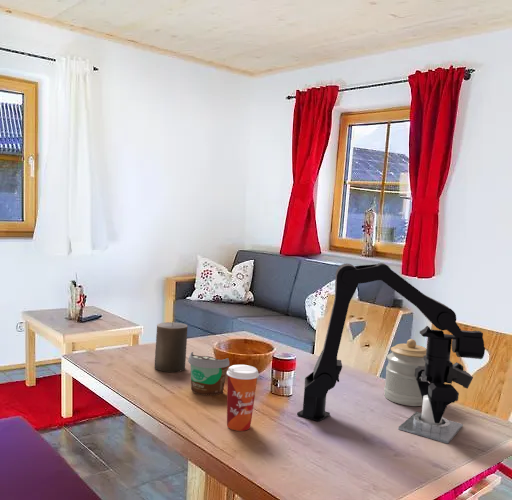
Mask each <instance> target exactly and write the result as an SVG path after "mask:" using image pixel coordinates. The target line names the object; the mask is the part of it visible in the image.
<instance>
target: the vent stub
mask: <svg viewBox="0 0 512 500" xmlns="http://www.w3.org/2000/svg"><path fill="white" fill-rule="evenodd" d="M447 408H448V406H447V407H446V409H447ZM421 413H422V416H421V421H423V422H425V423H428V424H432V425H442V418H443V417H444V415H443V416H442V418H441V421H440V423H435V422H434V418H433V415H432V411H431V407H430V403H429V399H428V395H425V396H423V405H422V406H421Z"/></svg>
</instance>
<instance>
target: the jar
mask: <svg viewBox="0 0 512 500" xmlns="http://www.w3.org/2000/svg"><path fill="white" fill-rule="evenodd" d="M426 349H427V347H424V346H421V345H418V344H417V341H416V340H415V339H414V338H409V339H408V340H407V341H406V343H397V344H395V345H394V346H392V347H390V351H391V352H390V353H388V354H387V356H386V358H387V361H388V362H387V363H388V364H387V365H386V367H385V369H386V371H385V372H386V373H385V384H384V388H383V394H384V397H385V398H386V399H387V400H389V401H390V402H393V403H395V404H398V405H403V406H410V407H422V405H423V400H422V396H421V393H420V390H419V387H418V384H417V381H416V377H415V369H416V368H417V367H418V366H425V361H424V359H423V358H424V355H425V356H426Z"/></svg>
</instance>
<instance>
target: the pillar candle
mask: <svg viewBox="0 0 512 500" xmlns="http://www.w3.org/2000/svg"><path fill="white" fill-rule="evenodd" d="M188 327H189V326H188V324H186V323H180V322H174V321H173V320H171V321H170V322H160V323H157V324H156V336H155V349H154V350H155V352H154V355H155V356H154V368H155V370H157V371H162V372H165V373H167V372H168V373H172V372H173V373H174V372H175V373H176V372H182V371H184V370H185V369H186V361H187V344H188V343H187V341H188Z"/></svg>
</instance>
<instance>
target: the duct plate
mask: <svg viewBox="0 0 512 500" xmlns="http://www.w3.org/2000/svg"><path fill="white" fill-rule="evenodd" d="M421 416H422V412H419V411H415V412H414V413H413V414H412V415H410V416H409V417H408V418H407V419H406V420H405V421H404V422H402V423H401V424H400V425H399V426H398V430H399V431H403V432H406V433H410V434H413V435H416V436H420V437H424V438H427V439H430V440H434V441H437V442H439V443H444V444H447V445H448V444H450V443H451V441H452V440H453V439H454V437H455V436H456V435H457V434H458V433H459V431H460V430H461V429H462V428H463V426H464V425H463V423H460V422H457V421H452V420H448V419H447V418H446V417H444V416H443V418H442V425H432V424H428V423H425V422H423V421H421Z"/></svg>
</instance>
